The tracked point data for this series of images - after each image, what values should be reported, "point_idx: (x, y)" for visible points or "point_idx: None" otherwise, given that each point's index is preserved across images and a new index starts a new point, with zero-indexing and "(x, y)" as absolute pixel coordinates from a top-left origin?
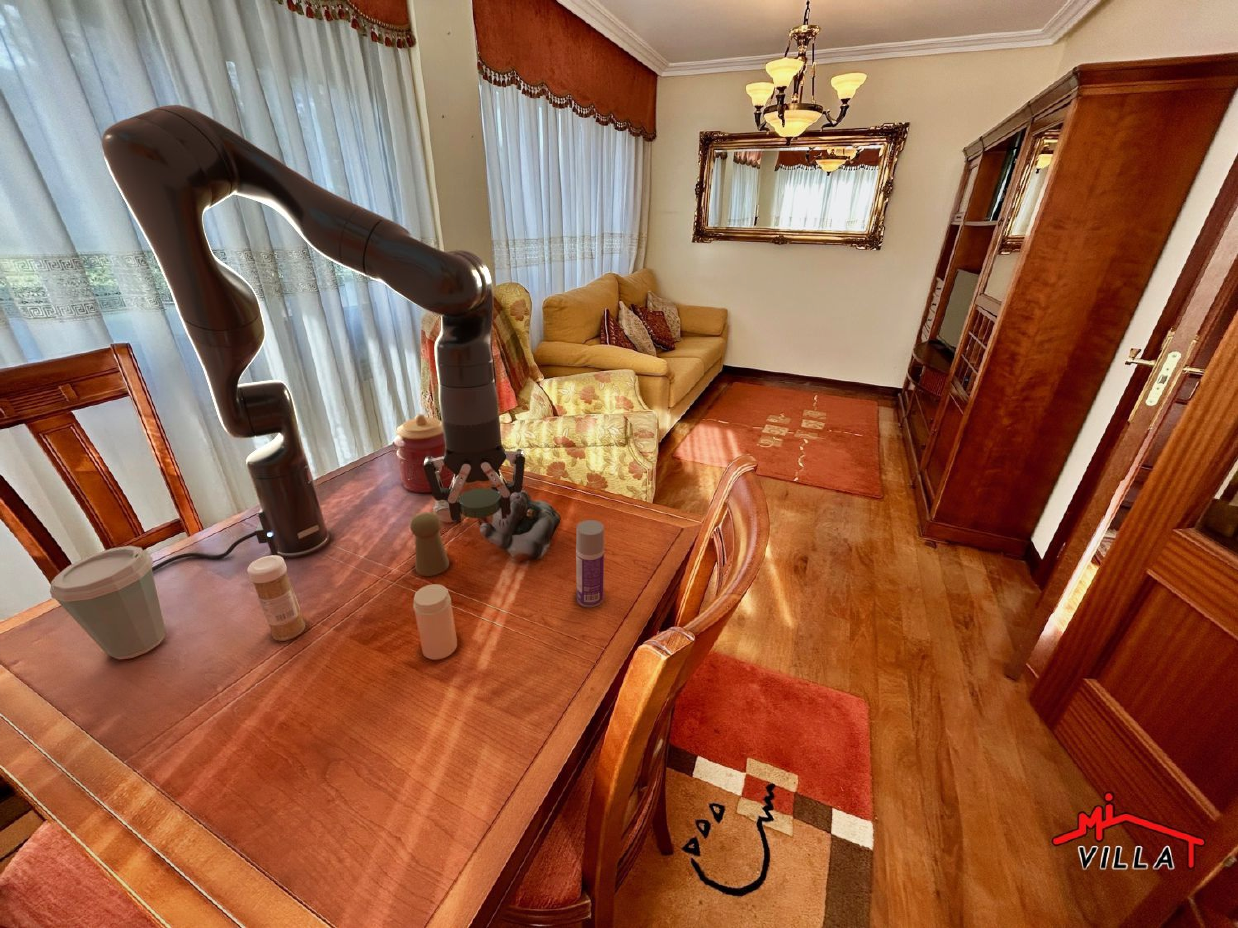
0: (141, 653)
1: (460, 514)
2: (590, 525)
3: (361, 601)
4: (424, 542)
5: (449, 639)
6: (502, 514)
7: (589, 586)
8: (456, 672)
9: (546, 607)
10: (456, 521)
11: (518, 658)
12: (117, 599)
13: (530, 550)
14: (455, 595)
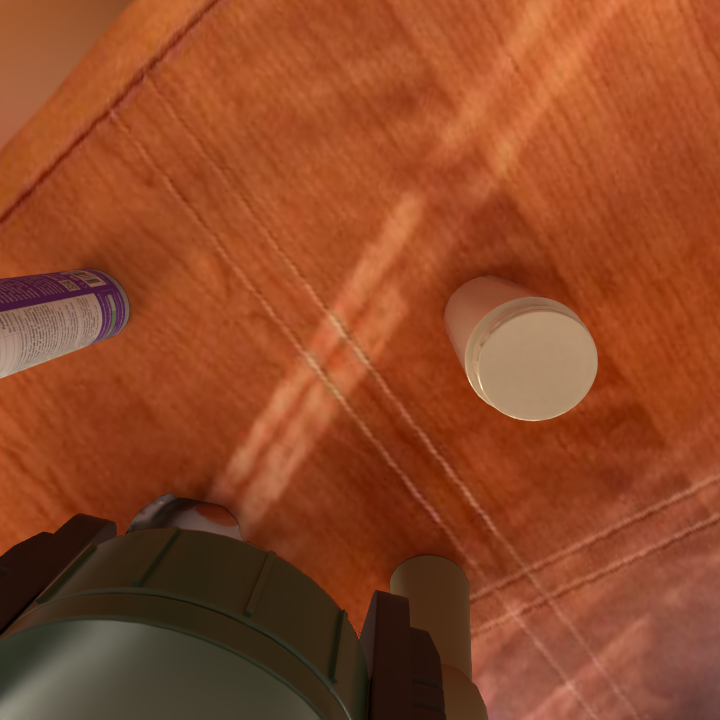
0: None
1: (366, 661)
2: None
3: (610, 545)
4: (452, 652)
5: (475, 286)
6: (81, 541)
7: (52, 280)
8: (474, 214)
9: (209, 324)
10: (407, 611)
11: (323, 186)
12: None
13: (185, 518)
14: (406, 466)
